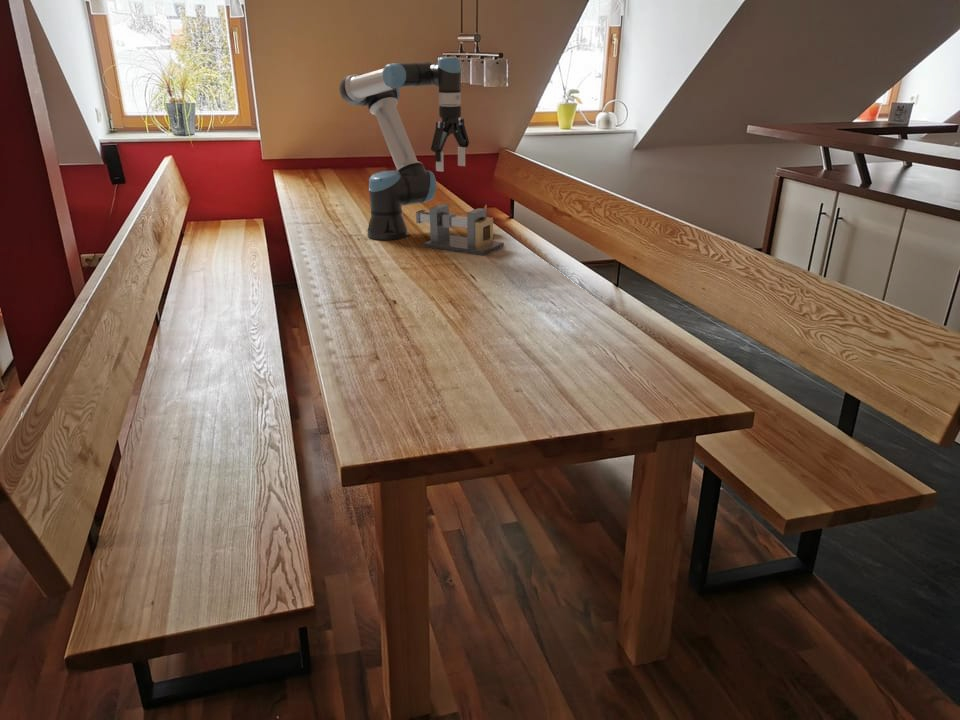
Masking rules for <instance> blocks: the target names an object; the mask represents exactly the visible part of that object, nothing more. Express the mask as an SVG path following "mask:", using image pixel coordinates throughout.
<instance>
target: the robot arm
mask: <svg viewBox="0 0 960 720" xmlns="http://www.w3.org/2000/svg"><path fill="white" fill-rule="evenodd" d="M461 72H462V67H461V60H460V58H459V56H458V57H457V56H440V57H438V59H437V62H431V61H425V62H424V61H423V62H411V63H408V62H407V63H398V62H395V63H394V62H393V63H388V64H386V65H385V66H384V68H380V69H377V70H373V71H370V72H367V73H352V74H348V75H346V76H344V78H342V79H341V81H340V83H339V88H338V89H339V93H340V97H341V98H342V99H343V101H344V102H345V103H346V104H348V105H351V106H354V107H365V106H367V108H368V111H369V112H370V114H372V115H373V116H375V118H376V120H377V122H378V123H377V124H378V125H379V128H380V130H381V133H382V135H383V138H384V141H385V143H386V145H387V149H388V150H389V153H390V156H391V157H392V161H393V163H394V165H395V168H396V170H383V171H379V172H376V173H374V174H372V175H370V177H369V179H368V191H369V207H370V219H369V223H368V227H367V229H366V230H367V231H366V232H367V237H368V238H369V239H372V240H380V241H384V240H385V241H386V240H387V241H388V240H389V241H391V240H398V239H402V238H405V237H407V236H408V227H407V225H406V222H405V220H404V216H403V207H402V206H409V205H416V204H423V203H426V202H431V200H433V198H434V197H435V195H436V192H437V180H436V176H435V174H434V173H433V171H431V170H430V169H427V170H426V167H425V166H424V164H423V162H421V161H418V159H417V156H416V154H415V151H414V149H413V146H412V144H411V143H412V142H411V141H410V139H409V137H408V134H407V131H406V128H405V126H404V123H403V122H402V118H401V116H400V113H399V111H398V108H397V106H398V104H399V99H400V89H401V88H410V87H412V88H413V87H428V86H429V87H432V86H433V87H438V105H440V106H439V107H438V110H439V111H438V113H439V114H438V117H439V118H441V121H435V130H434V134H433V137H432V138H433V139H432V142H431V147H430V150H431V151H432V152H433V153H435V154H434V156H435V158H434V159H435V171H436V172H444V171H445V170H444V152H443V148H444V146H445V144H446V142H447V139H448V137H449V136H450V135H453V136H454V139H455V140H456V142H457V144H458V147H457V166H459V167H466V148H468V147H469V145H470V141H469V137H468V133H467V130H466V126H465V118H461V117H462V107H461V106H460V105H461V104H462V99H461V98H462V96H461V91H462V90H461V89H462V87H461V86H462V85H461V84H462V83H461V82H462V76H461V75H462V73H461Z"/></svg>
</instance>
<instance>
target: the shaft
mask: <svg viewBox="0 0 960 720" xmlns="http://www.w3.org/2000/svg"><path fill="white" fill-rule="evenodd" d="M477 221H478V219H477ZM415 222H416V224H420V223H426V224H430V212H427V211H425V209H421V210H418V211H416V212H415ZM440 224H442V227H446V228H449V229H450V228H453V227H460V228H466V229H467V216H461V215H460V216H459V215H457V213H455V212H449V213H446V214H440Z"/></svg>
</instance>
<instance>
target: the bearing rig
mask: <svg viewBox="0 0 960 720" xmlns="http://www.w3.org/2000/svg"><path fill="white" fill-rule="evenodd" d="M429 213H430V223H429V228H430V240H428V241H425V242H423V248H429V249H434V250H435V249H436V250H444V251H449V252H456V253H463V254H464V253H465V254H469V255H478V256H487V255H489V254H491V253H493V252H495V251H497V250H500V249H502V248H504V247H505V242H502V241H495V240H493V243H492V244H490V245H488V246H485V247H483V248H481V249H479V248H475V222H477V219H478V221H480V220H482V219H485V218H486V216H487V208H486V209H485V208H480V207H478V208H475V209H473V210H471V211H468V212H466V217H467V228H466V229H467V230H466V231H467V235H466V236H458V235H450V228H446V227H442V224H440V214H446V213H450V205H449V204H445V203H441V204H438V205H435V206H432V207H429ZM484 238H485V227H483V239H484ZM503 246H504V247H503ZM501 247H502V248H501Z"/></svg>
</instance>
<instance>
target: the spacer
mask: <svg viewBox="0 0 960 720" xmlns="http://www.w3.org/2000/svg"><path fill="white" fill-rule="evenodd" d="M487 217H488V218H485V219H482V220H480V221H477V222H475V248H479V249H481V248H483V247H485V246H488V245H490V244H492V243H493V241H494V217H489V216H487ZM483 227H485V238H484V239H483Z"/></svg>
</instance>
